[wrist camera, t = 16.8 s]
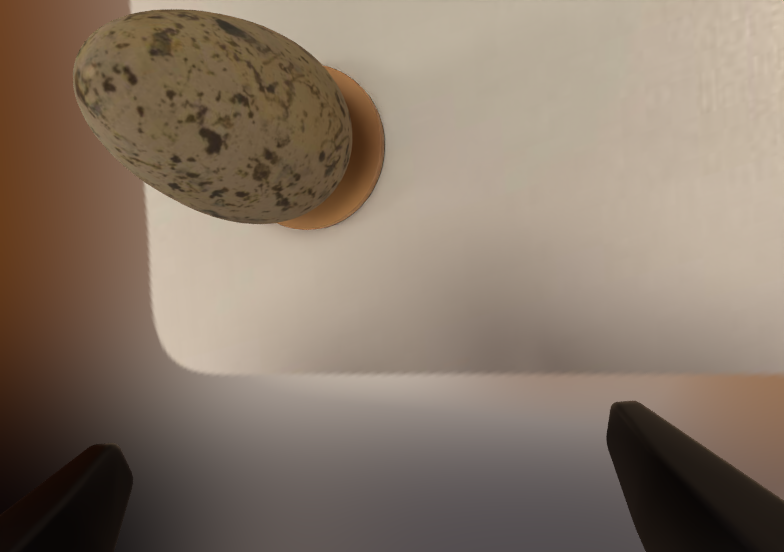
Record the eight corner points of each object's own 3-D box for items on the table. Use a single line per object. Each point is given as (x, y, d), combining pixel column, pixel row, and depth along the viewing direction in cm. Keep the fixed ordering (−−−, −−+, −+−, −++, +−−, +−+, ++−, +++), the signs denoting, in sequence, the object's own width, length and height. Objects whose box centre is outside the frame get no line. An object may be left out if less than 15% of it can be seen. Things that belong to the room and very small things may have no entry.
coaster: (408, 194, 20) (405, 193, 19) (268, 252, 21) (263, 252, 21) (352, 38, 20) (348, 34, 19) (218, 109, 22) (212, 106, 21)
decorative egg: (383, 221, 19) (229, 203, 10) (245, 231, 21) (0, 224, 12) (374, 61, 19) (206, -117, 10) (235, 85, 21) (-25, -47, 11)
